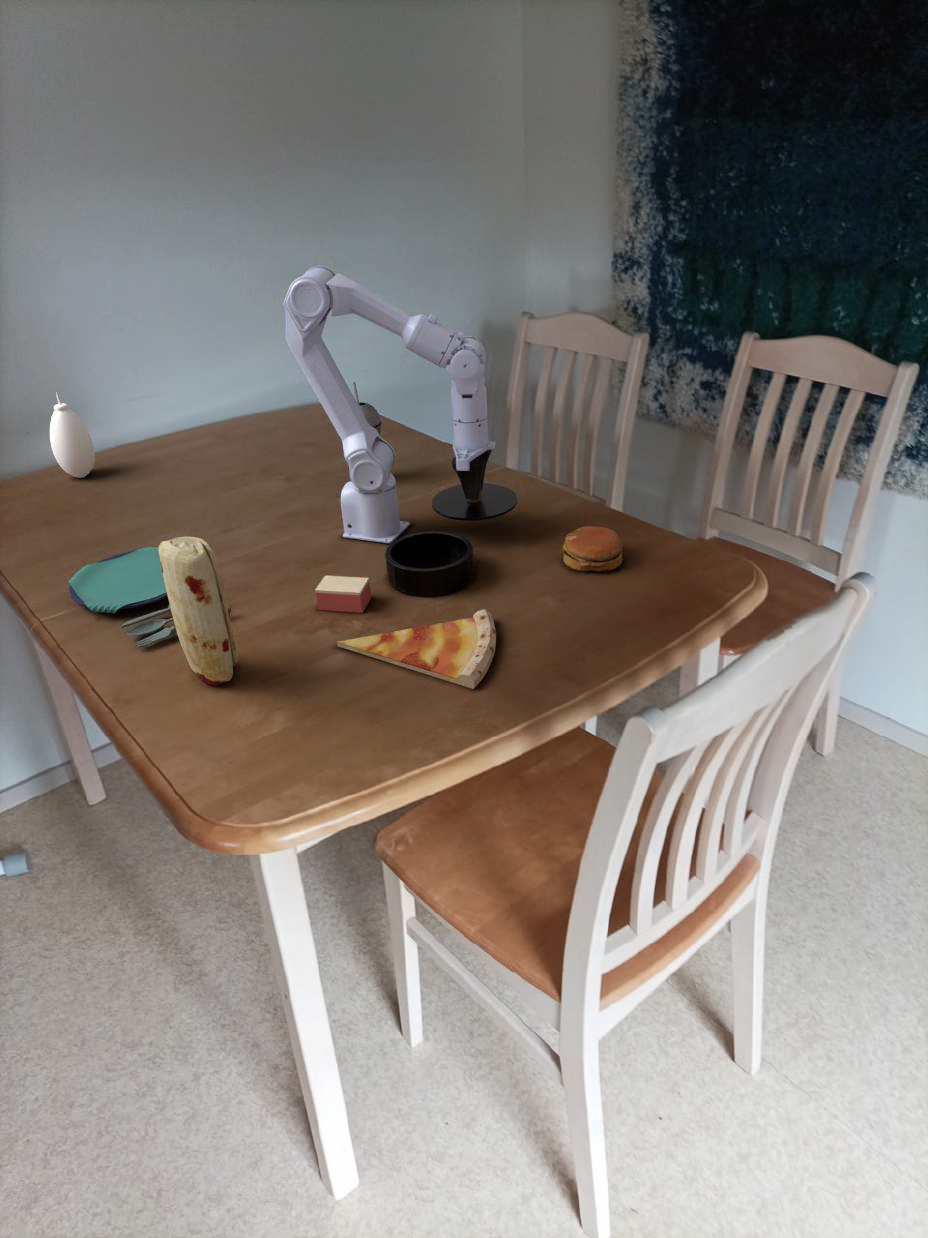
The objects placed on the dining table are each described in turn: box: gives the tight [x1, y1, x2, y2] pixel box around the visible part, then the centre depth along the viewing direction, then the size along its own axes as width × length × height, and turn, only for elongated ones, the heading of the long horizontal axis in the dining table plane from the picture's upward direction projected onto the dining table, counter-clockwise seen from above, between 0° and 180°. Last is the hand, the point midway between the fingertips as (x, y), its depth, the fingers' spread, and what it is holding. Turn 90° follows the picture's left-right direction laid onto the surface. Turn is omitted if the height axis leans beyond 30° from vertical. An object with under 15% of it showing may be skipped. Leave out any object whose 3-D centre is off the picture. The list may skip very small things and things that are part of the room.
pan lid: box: [431, 482, 518, 522], centre depth 148 cm, size 15×15×5 cm
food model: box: [158, 535, 239, 686], centre depth 113 cm, size 10×7×20 cm
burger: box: [561, 525, 624, 572], centre depth 139 cm, size 10×9×5 cm
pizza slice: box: [336, 608, 497, 690], centre depth 122 cm, size 16×22×2 cm
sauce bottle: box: [49, 391, 96, 479], centre depth 179 cm, size 8×8×18 cm
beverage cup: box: [352, 380, 382, 436], centre depth 169 cm, size 7×7×20 cm
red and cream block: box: [314, 574, 372, 614], centre depth 131 cm, size 7×4×4 cm, turn 78°
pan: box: [384, 530, 475, 598], centre depth 137 cm, size 14×14×4 cm
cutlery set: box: [67, 546, 232, 648], centre depth 136 cm, size 20×30×2 cm, turn 37°
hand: (473, 494), depth 148 cm, fingers closed on pan lid, 2 cm apart
